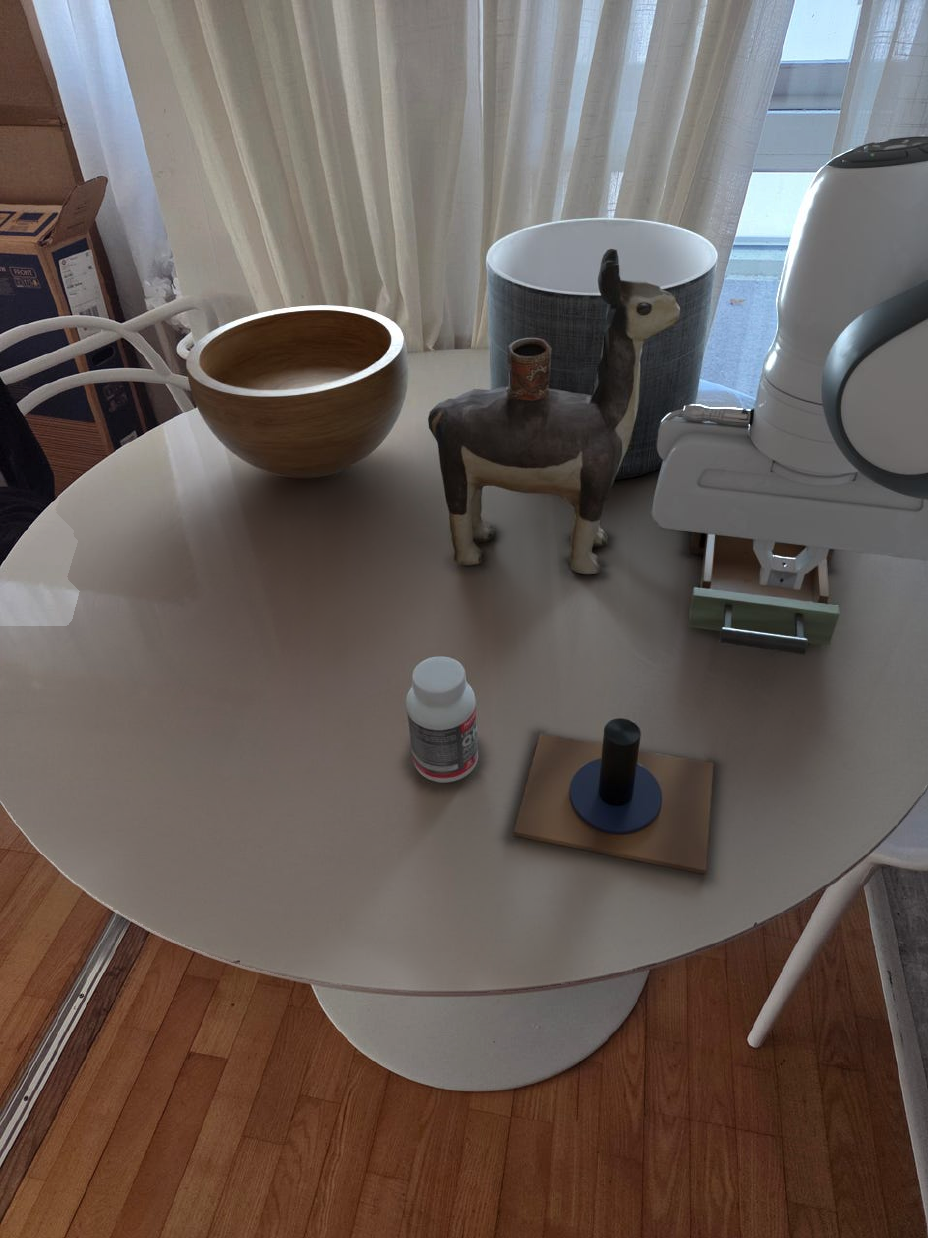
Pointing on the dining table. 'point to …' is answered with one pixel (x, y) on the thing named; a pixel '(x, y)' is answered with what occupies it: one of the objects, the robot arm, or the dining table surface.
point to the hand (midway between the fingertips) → (779, 582)
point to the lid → (616, 784)
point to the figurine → (551, 425)
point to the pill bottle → (442, 720)
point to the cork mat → (663, 842)
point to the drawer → (760, 599)
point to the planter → (603, 311)
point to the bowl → (301, 387)
